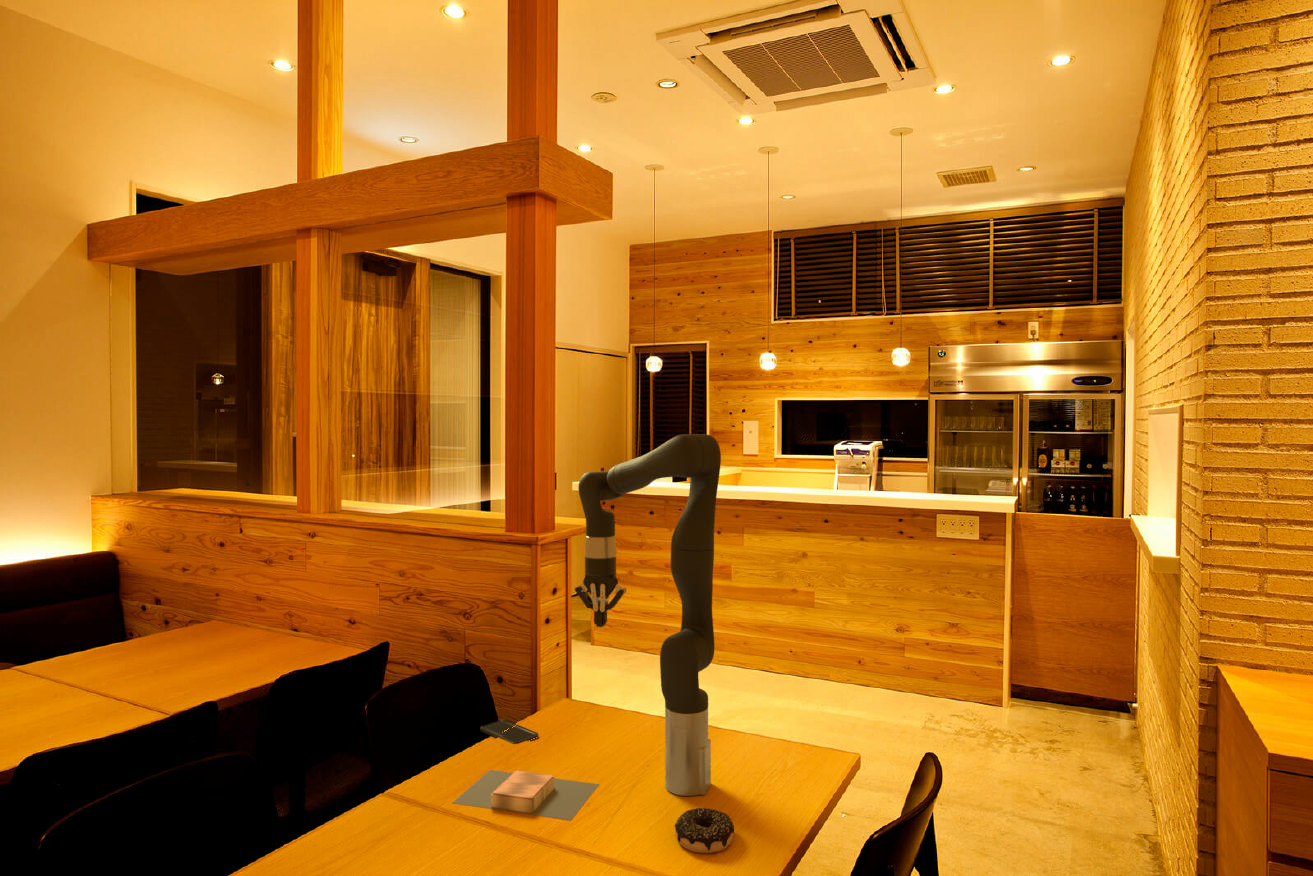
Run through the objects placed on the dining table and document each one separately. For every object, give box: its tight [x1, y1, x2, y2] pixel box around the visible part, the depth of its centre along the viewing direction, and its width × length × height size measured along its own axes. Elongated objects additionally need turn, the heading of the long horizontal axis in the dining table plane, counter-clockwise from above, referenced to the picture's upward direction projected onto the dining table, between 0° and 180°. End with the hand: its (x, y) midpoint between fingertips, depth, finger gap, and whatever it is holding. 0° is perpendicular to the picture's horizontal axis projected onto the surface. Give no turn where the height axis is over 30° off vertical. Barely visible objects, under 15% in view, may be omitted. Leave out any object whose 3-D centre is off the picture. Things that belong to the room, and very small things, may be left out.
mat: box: [451, 769, 600, 822], centre depth 162 cm, size 26×16×1 cm, turn 74°
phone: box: [480, 719, 539, 745], centre depth 196 cm, size 8×1×15 cm
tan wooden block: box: [491, 770, 556, 813], centre depth 161 cm, size 9×3×11 cm
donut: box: [674, 807, 735, 854], centre depth 145 cm, size 11×12×4 cm
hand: (600, 626), depth 187 cm, fingers closed
